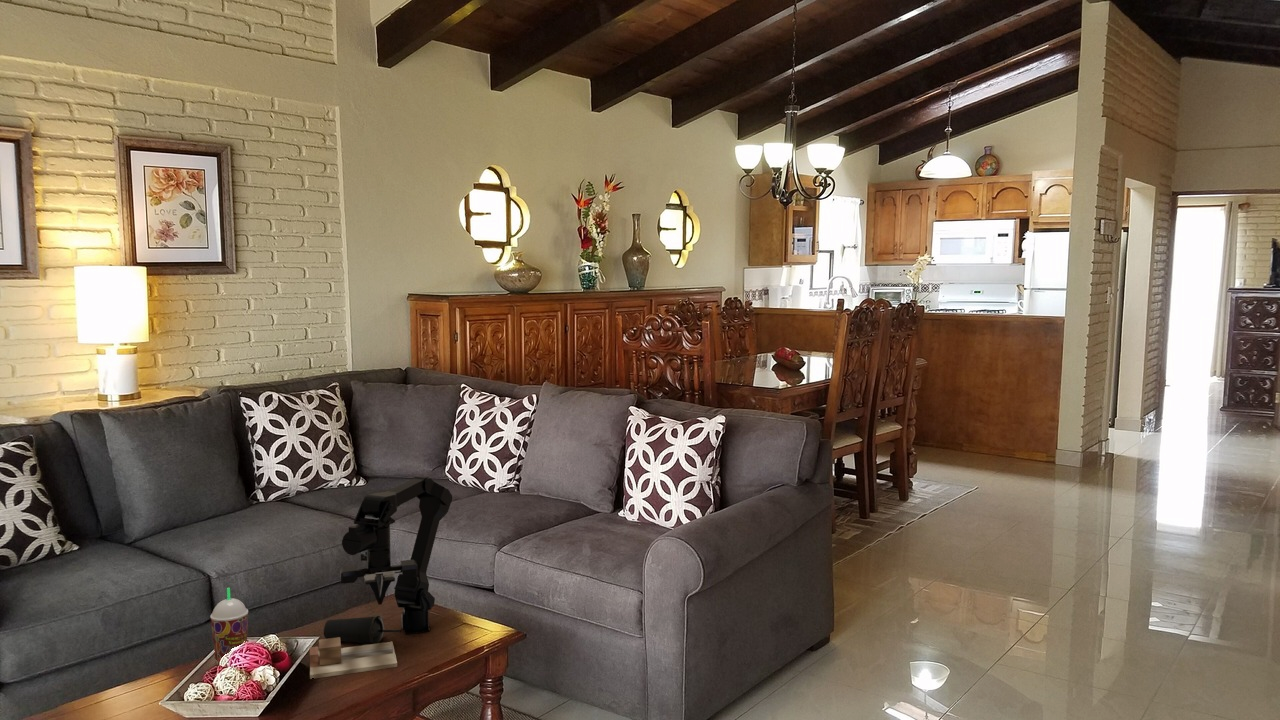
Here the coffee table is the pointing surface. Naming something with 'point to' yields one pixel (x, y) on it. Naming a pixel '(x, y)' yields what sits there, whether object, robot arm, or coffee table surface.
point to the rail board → (355, 660)
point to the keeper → (329, 651)
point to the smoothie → (228, 625)
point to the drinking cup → (357, 629)
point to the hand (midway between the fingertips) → (379, 604)
